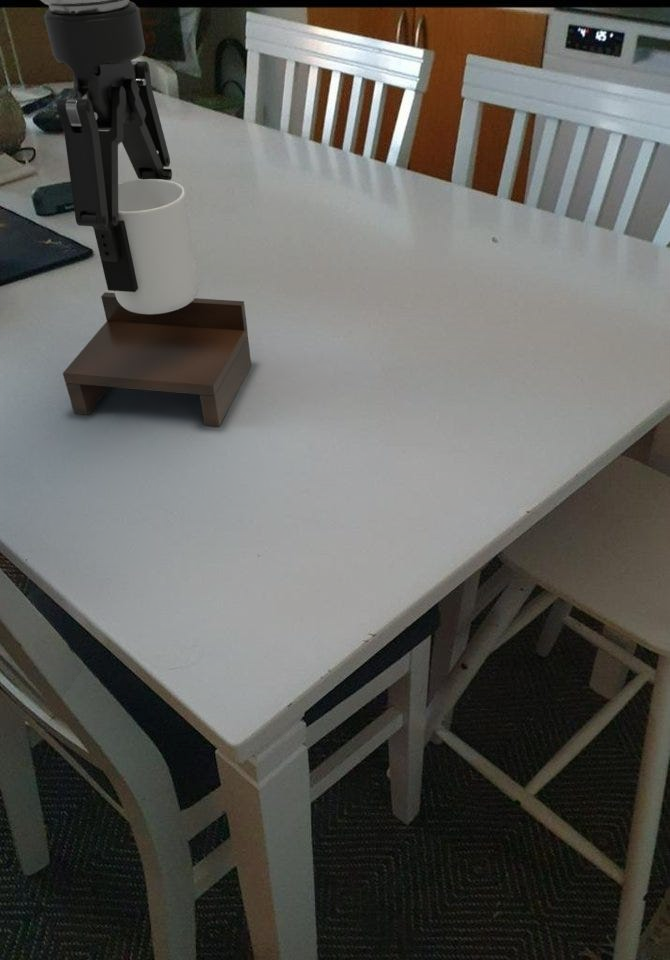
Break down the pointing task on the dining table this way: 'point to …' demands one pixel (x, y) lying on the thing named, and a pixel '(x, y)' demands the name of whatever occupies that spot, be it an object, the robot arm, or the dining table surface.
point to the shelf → (165, 355)
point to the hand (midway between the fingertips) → (142, 267)
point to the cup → (158, 246)
